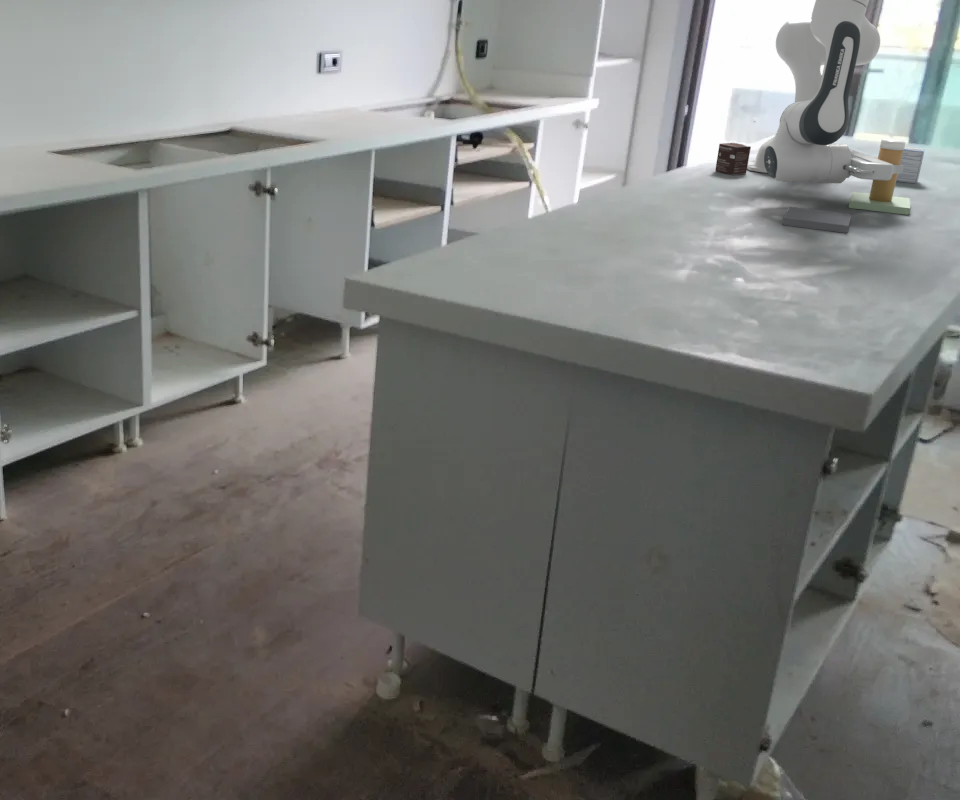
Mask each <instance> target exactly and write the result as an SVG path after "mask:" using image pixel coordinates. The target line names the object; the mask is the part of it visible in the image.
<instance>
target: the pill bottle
mask: <svg viewBox="0 0 960 800" xmlns="http://www.w3.org/2000/svg"><path fill="white" fill-rule="evenodd" d="M904 147H906V141H903V140H900V139H892V138H891V139H890V138H889V139H888V138H883V139H881V142H880V145H879V152H878V156H877V157H878V159H879V160H882V161H885V162H888V163H891V164H893V165H894V164H897V165H900V163H901V158H902V154H903V150H904ZM897 175H898V174H892V178H891V179H890V180H887V181H884V180H872V183H871V188H870V192H869V194H870V196H869V199H871V200H875V201H880V202H891V201H892V197H893V196H894V193H895V188H896V187H895V186H896V183H897V181H896V180H897Z"/></svg>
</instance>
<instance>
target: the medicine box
mask: <svg viewBox="0 0 960 800" xmlns="http://www.w3.org/2000/svg"><path fill="white" fill-rule="evenodd" d="M924 154H925V148H920V147H919V148H918V147H917V148H916V147H909V146H908V147H907V146H905V147H904V150H903V154H902V158H901V163H900V165H902V166H904V169H903V172H902V173H901V174H898V175H897V180H896V182H898V183H899V182H900V183H907V184H909V183H910V184H918V181H919V178H920V173H921V168H922V164H923V159H924V156H925V155H924Z"/></svg>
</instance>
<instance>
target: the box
mask: <svg viewBox="0 0 960 800" xmlns="http://www.w3.org/2000/svg"><path fill="white" fill-rule="evenodd" d="M751 147H752V146H749V145H746V144H743V143H738V142H737V143H736V142H727V143H725V142H724V143H719V145H718V151H717V157H716V163H715V172H717V173H722V174H725V175H731V176H736V175H745V174H747V171H748V169H747V166H748V162H749V159H750V155H751V154H750V153H751Z"/></svg>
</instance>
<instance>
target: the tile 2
mask: <svg viewBox="0 0 960 800" xmlns="http://www.w3.org/2000/svg"><path fill="white" fill-rule="evenodd" d="M850 195H851V196H850V200H849V203H848V208H849V209H856V210H863V211H864V210H865V211H872V212H873V211H875V212H882V213H890V214H898V215H906V216H907V215H910V212H911V198H909V197H901V196H894V195H893V197H892V201H891V202H880V201H875V200H871V199H869V196H870V193H867V192H859V191H851V194H850Z"/></svg>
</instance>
